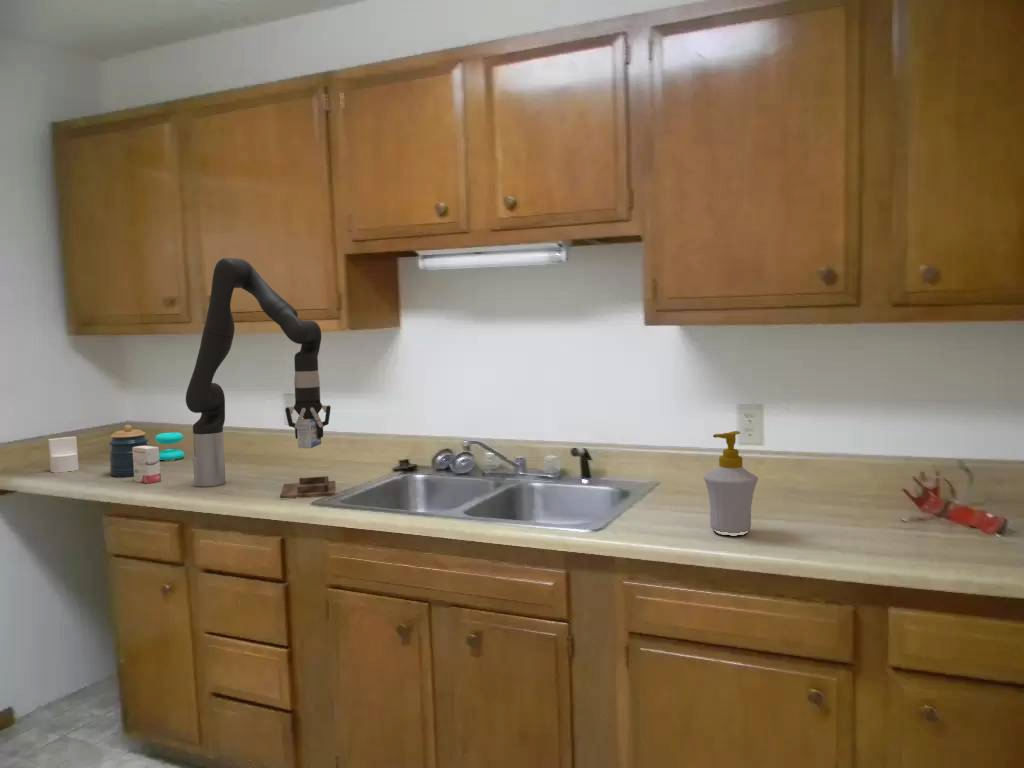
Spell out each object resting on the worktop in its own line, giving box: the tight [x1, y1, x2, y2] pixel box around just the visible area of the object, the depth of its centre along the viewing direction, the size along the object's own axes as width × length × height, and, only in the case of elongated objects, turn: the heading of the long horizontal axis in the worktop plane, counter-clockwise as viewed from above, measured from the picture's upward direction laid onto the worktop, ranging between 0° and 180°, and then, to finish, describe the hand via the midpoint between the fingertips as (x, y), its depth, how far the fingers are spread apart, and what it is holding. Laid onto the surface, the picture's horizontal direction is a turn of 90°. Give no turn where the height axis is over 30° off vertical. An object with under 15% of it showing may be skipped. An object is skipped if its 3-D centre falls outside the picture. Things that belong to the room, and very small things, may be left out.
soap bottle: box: [703, 430, 759, 533], centre depth 197 cm, size 13×13×25 cm
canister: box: [108, 424, 150, 478], centre depth 289 cm, size 13×13×18 cm
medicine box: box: [296, 418, 322, 449], centre depth 253 cm, size 8×4×9 cm, turn 170°
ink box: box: [132, 445, 162, 484], centre depth 275 cm, size 9×5×12 cm, turn 57°
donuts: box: [155, 431, 185, 461], centre depth 318 cm, size 10×10×10 cm
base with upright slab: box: [48, 436, 79, 473], centre depth 298 cm, size 9×9×12 cm
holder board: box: [279, 475, 336, 499], centre depth 255 cm, size 16×18×3 cm
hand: (309, 439), depth 254 cm, fingers closed on medicine box, 5 cm apart
